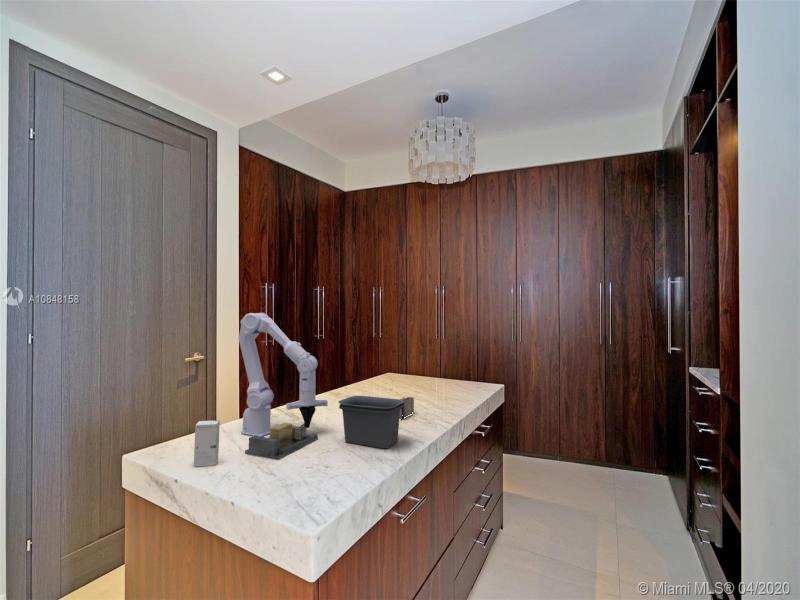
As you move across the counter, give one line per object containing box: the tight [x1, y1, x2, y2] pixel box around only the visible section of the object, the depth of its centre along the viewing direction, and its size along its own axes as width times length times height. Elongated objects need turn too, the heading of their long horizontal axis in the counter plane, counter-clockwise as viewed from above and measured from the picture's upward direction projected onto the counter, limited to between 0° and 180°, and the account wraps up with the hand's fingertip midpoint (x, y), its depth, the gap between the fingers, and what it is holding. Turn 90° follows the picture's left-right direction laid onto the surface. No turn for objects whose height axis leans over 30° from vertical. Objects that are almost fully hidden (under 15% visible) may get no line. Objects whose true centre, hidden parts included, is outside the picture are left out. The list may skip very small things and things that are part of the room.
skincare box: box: [193, 419, 221, 467], centre depth 119 cm, size 6×4×12 cm
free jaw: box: [292, 423, 308, 441], centre depth 141 cm, size 10×8×4 cm
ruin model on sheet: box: [399, 396, 415, 420], centre depth 171 cm, size 11×3×10 cm, turn 152°
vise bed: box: [244, 432, 319, 461], centre depth 134 cm, size 13×21×5 cm, turn 157°
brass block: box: [269, 422, 293, 447], centre depth 133 cm, size 4×7×6 cm, turn 158°
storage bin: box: [337, 395, 404, 449], centre depth 139 cm, size 21×16×14 cm
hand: (307, 427), depth 146 cm, fingers closed
